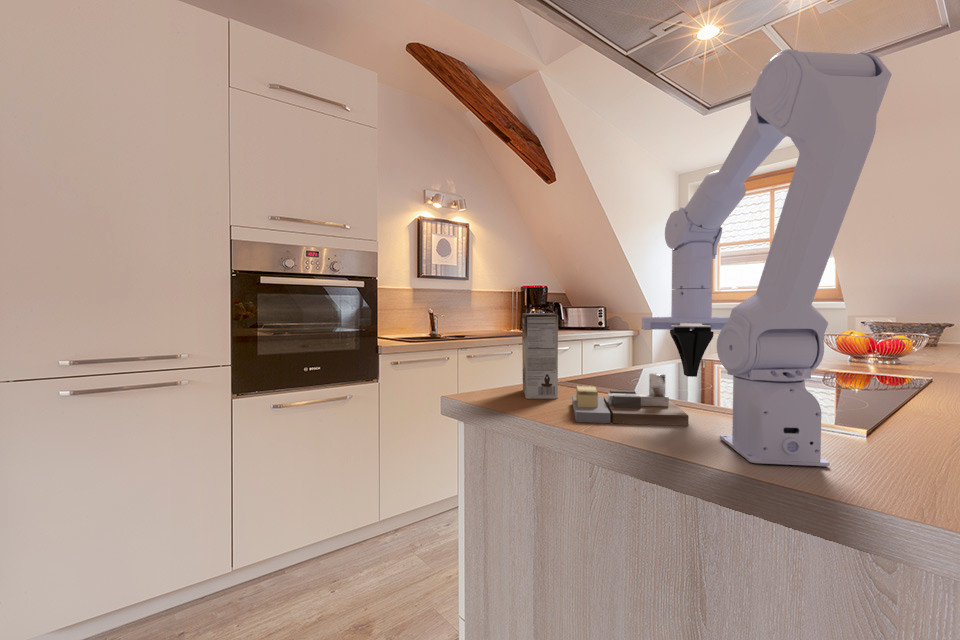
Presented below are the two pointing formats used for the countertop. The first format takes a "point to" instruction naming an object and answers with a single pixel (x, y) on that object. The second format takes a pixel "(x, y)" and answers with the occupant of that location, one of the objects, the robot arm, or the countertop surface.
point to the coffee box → (540, 355)
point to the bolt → (650, 392)
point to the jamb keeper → (589, 405)
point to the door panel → (643, 411)
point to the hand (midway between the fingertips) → (690, 375)
